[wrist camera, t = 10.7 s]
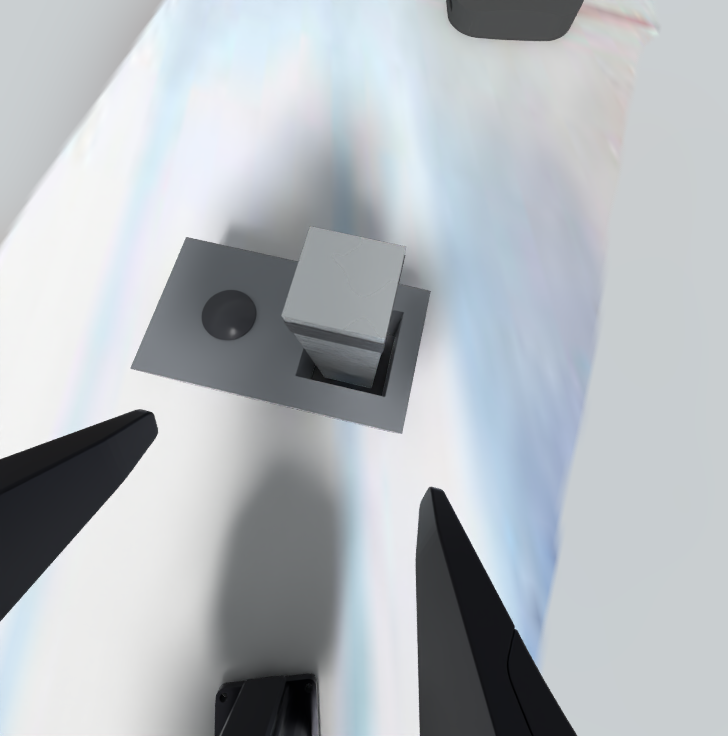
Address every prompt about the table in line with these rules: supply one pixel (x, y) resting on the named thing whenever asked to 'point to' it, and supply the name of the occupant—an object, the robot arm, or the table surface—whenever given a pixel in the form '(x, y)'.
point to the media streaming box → (513, 18)
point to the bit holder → (265, 337)
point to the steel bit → (344, 302)
